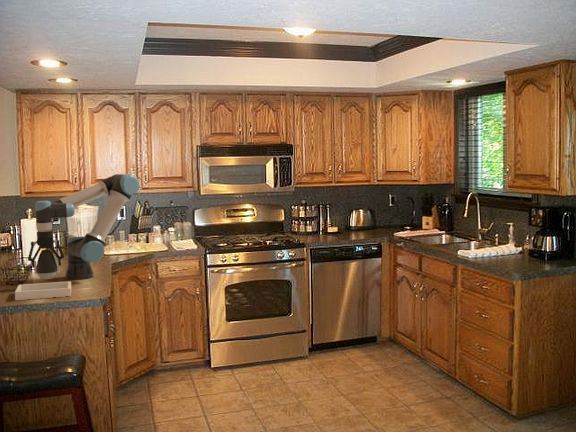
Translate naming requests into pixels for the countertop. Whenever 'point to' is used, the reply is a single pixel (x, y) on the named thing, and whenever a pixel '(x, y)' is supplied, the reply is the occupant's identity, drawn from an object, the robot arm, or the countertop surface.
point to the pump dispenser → (46, 265)
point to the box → (43, 290)
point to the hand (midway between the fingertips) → (47, 272)
